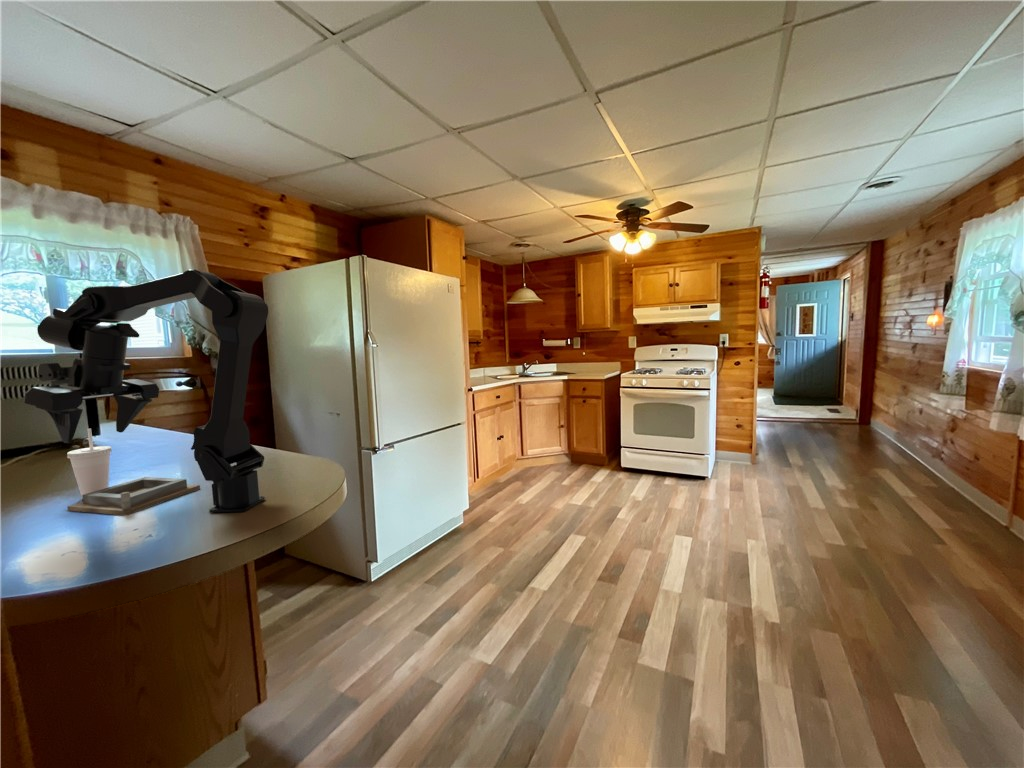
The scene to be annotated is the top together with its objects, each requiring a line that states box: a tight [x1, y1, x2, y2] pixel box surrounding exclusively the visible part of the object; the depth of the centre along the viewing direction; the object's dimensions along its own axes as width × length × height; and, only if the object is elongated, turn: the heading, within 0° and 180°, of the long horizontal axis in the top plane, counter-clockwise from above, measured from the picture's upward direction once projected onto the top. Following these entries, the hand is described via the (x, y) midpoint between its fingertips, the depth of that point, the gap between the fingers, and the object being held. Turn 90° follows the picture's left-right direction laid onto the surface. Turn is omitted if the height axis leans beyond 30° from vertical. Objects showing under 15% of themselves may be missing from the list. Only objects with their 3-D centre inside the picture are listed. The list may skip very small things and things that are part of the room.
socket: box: [67, 476, 201, 516], centre depth 82 cm, size 14×14×4 cm
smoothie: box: [66, 428, 112, 500], centre depth 84 cm, size 6×6×14 cm
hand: (94, 436), depth 78 cm, fingers open, 9 cm apart
